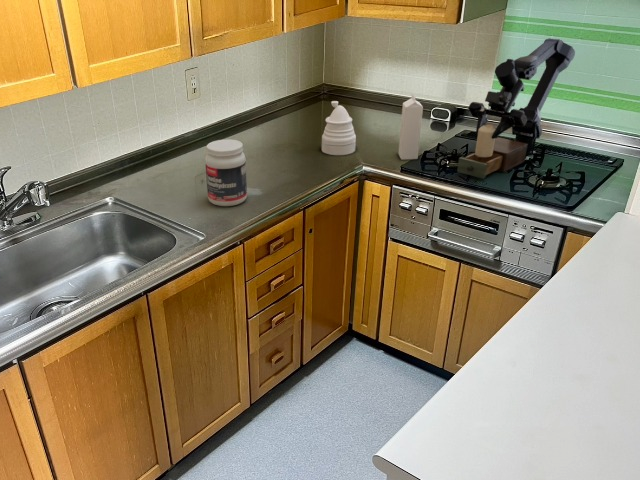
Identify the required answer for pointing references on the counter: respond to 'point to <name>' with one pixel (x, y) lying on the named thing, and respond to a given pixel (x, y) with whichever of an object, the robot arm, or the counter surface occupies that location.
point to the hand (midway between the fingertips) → (484, 136)
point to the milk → (410, 129)
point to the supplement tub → (226, 172)
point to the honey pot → (338, 132)
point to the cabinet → (510, 152)
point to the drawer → (480, 164)
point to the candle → (485, 141)
